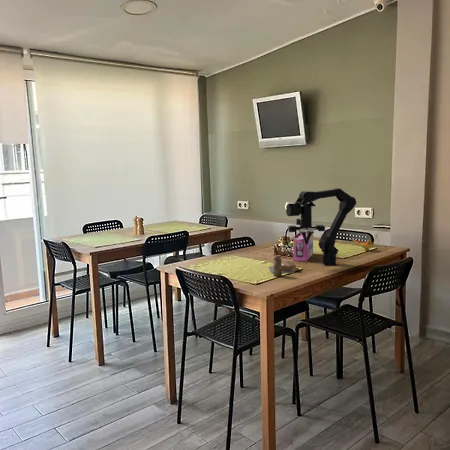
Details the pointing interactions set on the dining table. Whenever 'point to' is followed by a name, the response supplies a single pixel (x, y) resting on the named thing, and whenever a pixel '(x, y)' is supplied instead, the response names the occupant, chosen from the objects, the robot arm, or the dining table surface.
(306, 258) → the gum box
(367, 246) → the magic lamp
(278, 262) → the pepper mill
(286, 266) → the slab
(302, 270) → the dining table surface
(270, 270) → the mat
